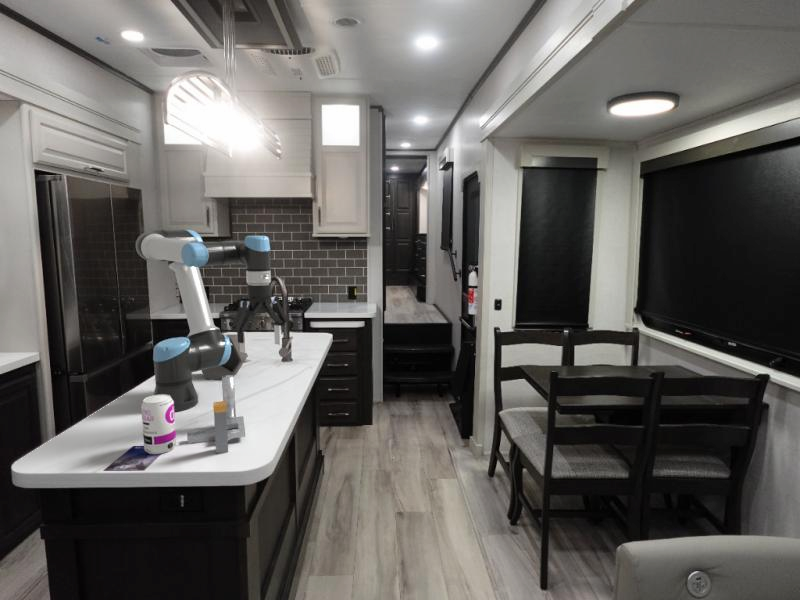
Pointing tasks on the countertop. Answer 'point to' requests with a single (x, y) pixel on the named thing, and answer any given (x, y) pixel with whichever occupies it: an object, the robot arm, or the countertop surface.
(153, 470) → the countertop surface
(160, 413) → the supplement can
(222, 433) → the orange-tipped square rod
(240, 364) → the planter
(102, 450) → the countertop surface
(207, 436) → the grey piece
